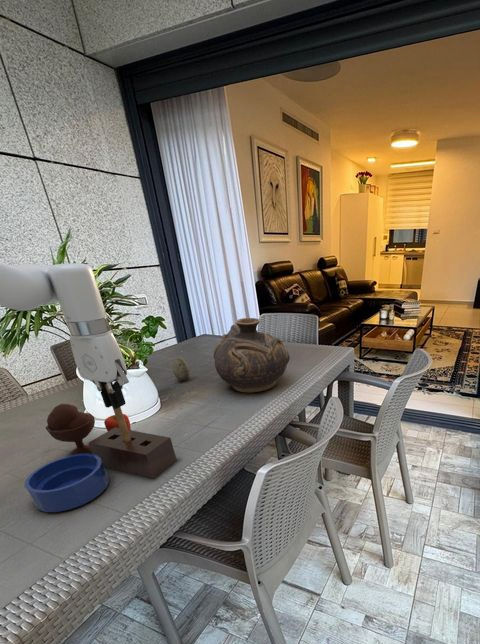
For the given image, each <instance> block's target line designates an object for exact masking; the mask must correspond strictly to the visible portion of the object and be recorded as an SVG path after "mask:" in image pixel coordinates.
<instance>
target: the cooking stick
mask: <svg viewBox="0 0 480 644" xmlns="http://www.w3.org/2000/svg"><path fill="white" fill-rule="evenodd" d="M105 387H106V390H107V393H110V392H109V389H108V386H107V384H105ZM108 396H109V395H108ZM109 399H110V398H109ZM121 407H122V406H121ZM121 407H119V408H117V409H114V408H113V407H112V410H113V413H114V415H115V416H116V419H117V422H118V425H119V428H120V430H121V433H122V436H123V439H124V442H127V443H130V442H132V440H131V437H130V434H129V431H128V428H127V425H126V422H125V419H124V416H123V414H124V413H123V410H122V408H121Z"/></svg>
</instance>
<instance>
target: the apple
mask: <svg viewBox="0 0 480 644" xmlns="http://www.w3.org/2000/svg"><path fill="white" fill-rule="evenodd" d="M123 416H124V419H125V422H126V425H127V428H128V430H131V426H132V425H131V422H130V418H129V417H128V415H127V414H125V413H123ZM103 423H104V427H105V429H106V432H108V431H110V430H111V429H113V428H115V427H116V428H119V425H118V422H117V419H116V416H115V414H113V415H110V416H108V417H106V418H105V419H104V421H103Z"/></svg>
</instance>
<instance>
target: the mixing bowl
mask: <svg viewBox="0 0 480 644" xmlns="http://www.w3.org/2000/svg"><path fill="white" fill-rule="evenodd" d="M109 482H110V479H109V475H108V472H107V470H106V467H104V465H103V463H102V460H101V458H100V457H98V456H97V455H94V454H93V453H91V454H75V455H72V454H69V455H65V456H61V457H59V458H56V459H53V460H51V461H48V462H47V463H45V464H43V465H42V466H40V467H37V468H36V469H35V470H33V471H32V472H31V473H30V474H29V475H28V476H27V477H26V479H25V481H24V488H25V490H26V492H27V493H28V495H29V497H30V499H31V501H32V502H33V504H34V506H35V507H36V508H37V510H38V511H40V512H41V511H42V512H45V513H59V512H64V511H69V510H72V509H75V508H78V507H81V506H83V505H85V504H87V503H89V502H91V501H92V500H94V499H96V498H97V497H98V496H100V495H102V493H103V492H104V491H105V490H106V489H107V487H108V485H109Z"/></svg>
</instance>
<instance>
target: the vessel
mask: <svg viewBox="0 0 480 644" xmlns="http://www.w3.org/2000/svg"><path fill="white" fill-rule="evenodd" d="M234 321H235V322H234V323H235V324H232V325H231V326H230V329H229V330H228V332H227V333H224V334H223V335H222V336H221V340H220V341H219V342H218V344H217V345H216V347H214V351H213V359H214V367H215V370H216V373H217V374H218V376H219V377H220V378H221V379H222V380H223V381H224V382H225V383H226V384H228V385H230V386H232V388H233V389H234V390H235V391H237V392H241V393H259V392H263V391H266V390H270V389H271V388H273V387H274V386H275V385H276V383H277V381H278V380H279V379H280V378H281V377H282V376H283V375H284V373H285V371H286V369H287V366H288V364H289V362H290V358H291V357H290V354H289V351H288V349H287V345H286V344H285V343H284V341H282V340H281V339H280V338H278V337H274V336H272V334H269V333H265V332H263V331H262V332H259V331H258V329H257V328H258V325H259V324H260V323H261V320H260V319H259V318H256V317H244V318H239V319H236V320H234Z"/></svg>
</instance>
